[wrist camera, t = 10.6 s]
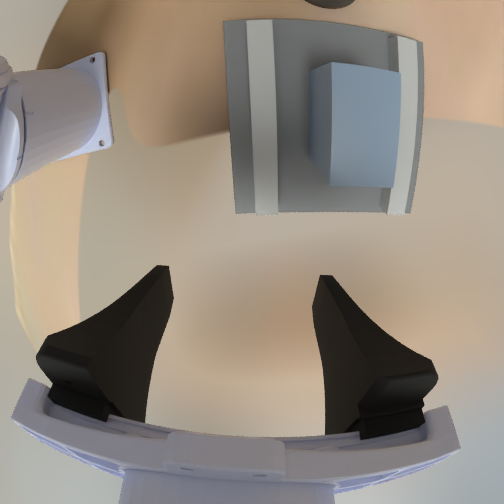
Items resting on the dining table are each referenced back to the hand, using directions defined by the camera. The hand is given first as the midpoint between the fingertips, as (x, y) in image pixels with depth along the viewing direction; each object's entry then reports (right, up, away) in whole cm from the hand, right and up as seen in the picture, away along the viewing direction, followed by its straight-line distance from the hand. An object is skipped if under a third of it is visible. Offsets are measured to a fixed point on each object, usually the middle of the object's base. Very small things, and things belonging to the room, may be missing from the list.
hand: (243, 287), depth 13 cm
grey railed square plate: (+6, +11, +4) cm, 13 cm away
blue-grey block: (+6, +11, +3) cm, 13 cm away
